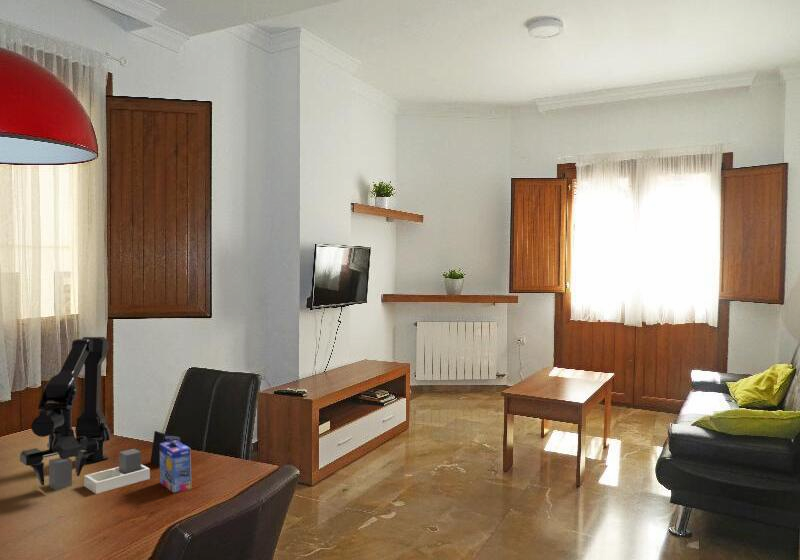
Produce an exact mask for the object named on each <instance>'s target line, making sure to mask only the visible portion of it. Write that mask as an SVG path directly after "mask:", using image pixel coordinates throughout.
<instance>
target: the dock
mask: <svg viewBox="0 0 800 560" xmlns="http://www.w3.org/2000/svg"><path fill="white" fill-rule="evenodd" d="M150 470H151V468H149V467H148V466H146V465H144V464H142V463H141V470H139V471H135V472H131V473H128V474H122V473H121V472H119V466H116V467H113V468H109V469H105V470H101V471H96V472H93V473H88V474H86V475H83V486H84V487H85V488H87V489H88V490H89V491H91V492H92V493H94V494H96V495H97V494H101V493H104V492H107V491H111V490H114V489H118V488H122V487H127V486H129V485H133V484H136V483H140V482H144V481H147V480H150V479H151V471H150Z"/></svg>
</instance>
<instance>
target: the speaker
mask: <svg viewBox="0 0 800 560" xmlns="http://www.w3.org/2000/svg"><path fill="white" fill-rule="evenodd" d="M167 437H168V438H170V439H172V440H173V441H174V440H177V441H179V442H181V437H180V436H175V435H166V433H164V432H160V431H157V430H154V434H153V440H152V448H151V456H150V463H152V464H154V465H156V466H159V467H160V447H159V444H160V443H164V442H169V440H168V438H167Z"/></svg>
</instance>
